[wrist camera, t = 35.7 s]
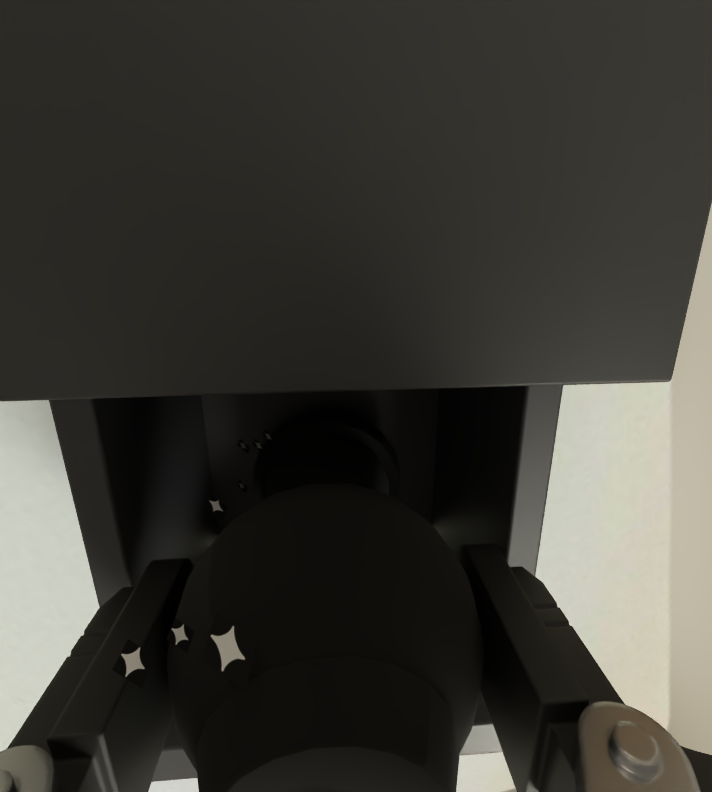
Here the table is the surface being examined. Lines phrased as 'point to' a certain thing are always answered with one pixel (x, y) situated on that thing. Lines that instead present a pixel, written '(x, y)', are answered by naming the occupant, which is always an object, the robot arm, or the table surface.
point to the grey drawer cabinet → (348, 193)
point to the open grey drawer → (228, 463)
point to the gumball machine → (323, 629)
